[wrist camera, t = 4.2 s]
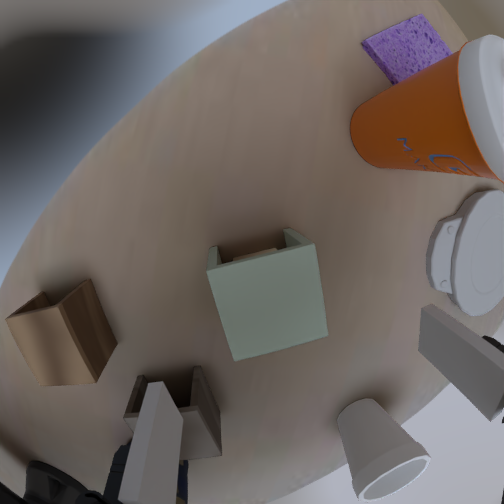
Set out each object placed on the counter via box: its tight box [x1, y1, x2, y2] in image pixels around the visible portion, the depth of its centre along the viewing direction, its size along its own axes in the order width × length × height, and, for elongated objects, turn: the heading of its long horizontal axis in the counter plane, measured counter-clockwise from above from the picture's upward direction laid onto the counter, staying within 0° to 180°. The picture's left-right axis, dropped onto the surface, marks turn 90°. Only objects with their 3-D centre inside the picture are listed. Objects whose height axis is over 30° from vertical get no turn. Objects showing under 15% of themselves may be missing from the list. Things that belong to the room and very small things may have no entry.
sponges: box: [362, 14, 453, 85], centre depth 22 cm, size 7×13×2 cm, turn 130°
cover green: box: [206, 228, 328, 361], centre depth 23 cm, size 8×8×7 cm
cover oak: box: [123, 366, 222, 460], centre depth 26 cm, size 8×8×7 cm
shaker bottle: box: [350, 34, 504, 183], centre depth 15 cm, size 9×9×20 cm
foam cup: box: [337, 398, 431, 502], centre depth 27 cm, size 10×9×13 cm
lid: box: [426, 189, 504, 316], centre depth 28 cm, size 17×20×3 cm
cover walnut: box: [5, 279, 117, 386], centre depth 22 cm, size 8×8×7 cm
